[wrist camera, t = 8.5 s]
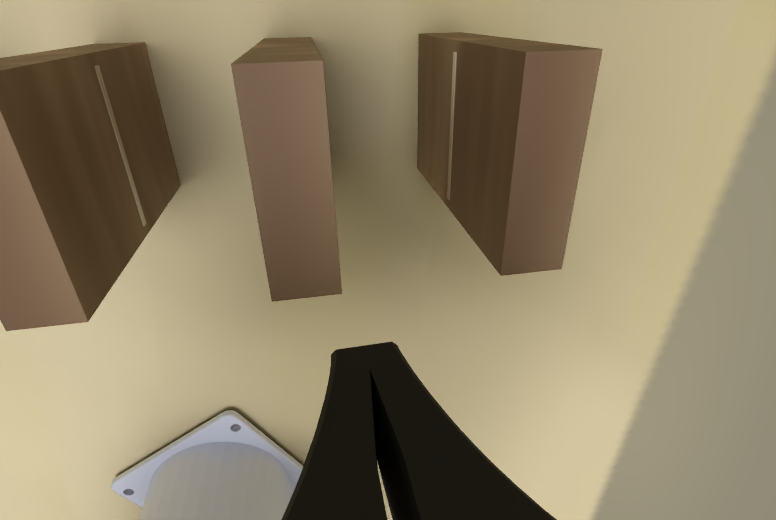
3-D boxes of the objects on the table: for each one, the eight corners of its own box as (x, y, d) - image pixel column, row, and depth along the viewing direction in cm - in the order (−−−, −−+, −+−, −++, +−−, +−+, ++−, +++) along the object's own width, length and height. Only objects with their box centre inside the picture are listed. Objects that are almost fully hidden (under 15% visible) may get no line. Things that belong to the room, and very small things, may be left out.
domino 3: (461, 32, 17) (603, 49, 9) (454, 165, 19) (562, 268, 11) (418, 33, 17) (525, 52, 9) (416, 167, 19) (499, 275, 11)
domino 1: (145, 42, 15) (-14, 72, 7) (181, 185, 18) (89, 321, 10) (92, 44, 15) (-130, 78, 7) (135, 188, 17) (5, 331, 10)
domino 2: (311, 37, 16) (324, 60, 8) (323, 174, 18) (342, 293, 11) (263, 38, 16) (230, 63, 8) (282, 177, 18) (270, 301, 10)
